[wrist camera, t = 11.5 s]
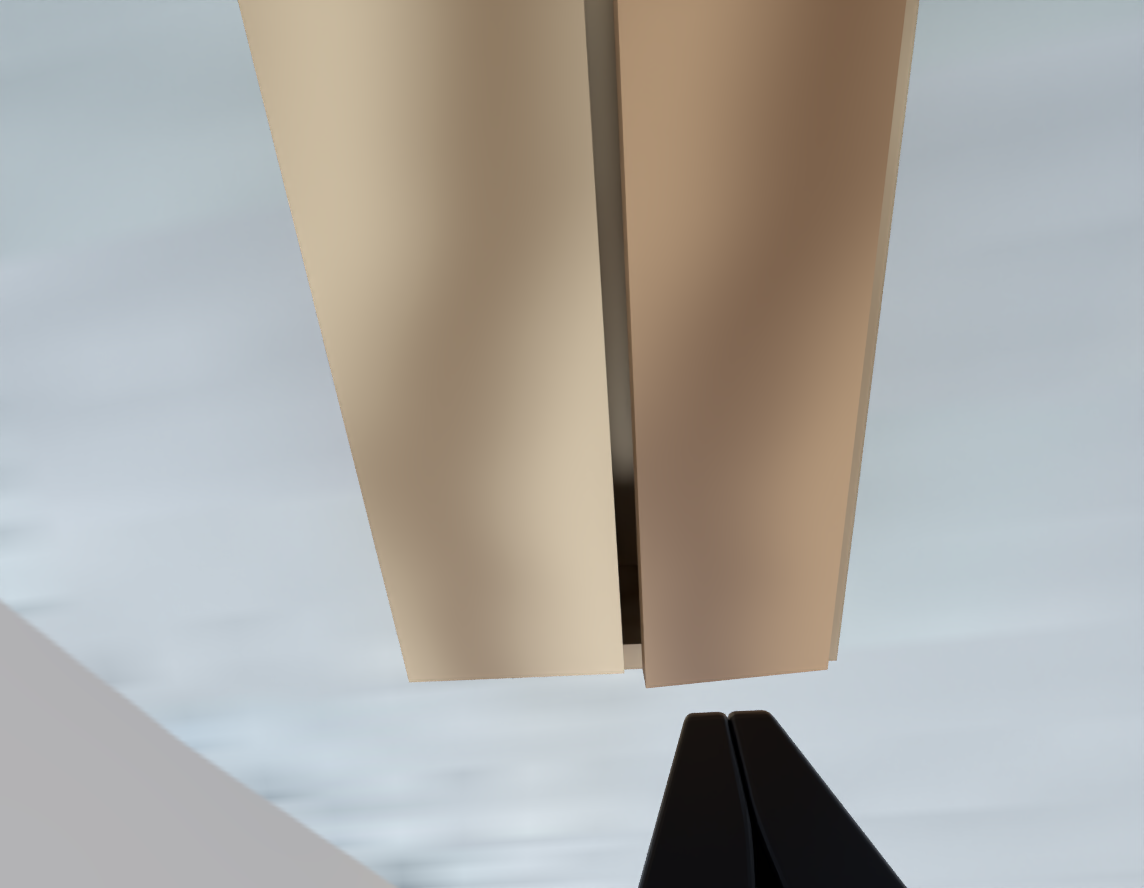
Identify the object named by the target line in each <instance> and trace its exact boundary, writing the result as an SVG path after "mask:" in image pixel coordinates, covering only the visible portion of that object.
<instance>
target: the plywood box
mask: <svg viewBox="0 0 1144 888" xmlns="http://www.w3.org/2000/svg"><path fill="white" fill-rule="evenodd" d="M238 3H239V7H240V11H241V15H242V19H243V23H244V27H245V31H246V35H247V39H248V43H249V47H250V51H251V55H252V59H253V63H254V67H255V71H256V75H257V79H258V83H259V87H260V91H261V95H262V99H263V103H264V107H265V110H266V114H267V118H268V122H269V126H270V130H271V134H272V138H273V142H274V146H275V150H276V154H277V158H278V162H279V166H280V170H281V174H282V178H283V182H284V186H285V190H286V194H287V198H288V202H289V206H290V210H291V214H292V218H293V222H294V226H295V230H296V234H297V238H298V242H299V246H300V250H301V254H302V258H303V262H304V266H305V270H306V274H307V277H308V281H309V285H310V289H311V293H312V297H313V301H314V305H315V309H316V313H317V317H318V321H319V325H320V329H321V333H322V337H323V341H324V345H325V349H326V353H327V357H328V361H329V365H330V369H331V373H332V377H333V381H334V385H335V389H336V393H337V397H338V401H339V405H340V409H341V413H342V417H343V421H344V425H345V429H346V433H347V437H348V441H349V444H350V448H351V452H352V456H353V460H354V464H355V468H356V472H357V476H358V480H359V484H360V488H361V492H362V496H363V500H364V504H365V508H366V512H367V516H368V520H369V524H370V528H371V532H372V536H373V540H374V544H375V548H376V552H377V556H378V560H379V564H380V568H381V572H382V576H383V580H384V584H385V588H386V592H387V596H388V600H389V604H390V608H391V611H392V615H393V619H394V623H395V627H396V631H397V635H398V639H399V643H400V647H401V651H402V655H403V659H404V663H405V667H406V671H407V675H408V679H409V682H427V681H451V680H475V679H499V678H523V677H547V676H571V675H595V674H619V673H624V669H642V647H641V625H640V602H639V579H638V557H637V534H636V511H635V489H634V466H633V443H632V421H631V398H630V375H629V353H628V330H627V307H626V285H625V262H624V239H623V217H622V194H621V171H620V149H619V126H618V103H617V81H616V58H615V35H614V13H613V0H238ZM918 6H919V0H906V9H905V17H904V26H903V34H902V43H901V51H900V59H899V68H898V76H897V85H896V93H895V102H894V110H893V119H892V127H891V136H890V144H889V153H888V161H887V169H886V178H885V186H884V195H883V203H882V212H881V220H880V229H879V237H878V246H877V254H876V263H875V271H874V280H873V288H872V296H871V305H870V313H869V322H868V330H867V339H866V347H865V356H864V364H863V373H862V381H861V390H860V398H859V406H858V415H857V423H856V432H855V440H854V449H853V457H852V466H851V474H850V483H849V491H848V500H847V508H846V516H845V525H844V533H843V542H842V550H841V559H840V567H839V576H838V584H837V593H836V601H835V610H834V618H833V626H832V635H831V643H830V652H829V660H828V661H835V660H837V653H838V645H839V637H840V629H841V621H842V613H843V605H844V597H845V589H846V581H847V573H848V565H849V557H850V549H851V541H852V533H853V525H854V517H855V509H856V501H857V493H858V485H859V477H860V469H861V461H862V453H863V445H864V437H865V429H866V422H867V414H868V406H869V398H870V390H871V382H872V374H873V366H874V358H875V350H876V342H877V334H878V326H879V318H880V310H881V302H882V294H883V286H884V278H885V270H886V262H887V254H888V246H889V238H890V230H891V222H892V214H893V206H894V198H895V190H896V182H897V174H898V166H899V158H900V150H901V142H902V134H903V126H904V118H905V110H906V102H907V94H908V86H909V78H910V70H911V62H912V54H913V46H914V38H915V30H916V22H917V14H918Z"/></svg>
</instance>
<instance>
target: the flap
mask: <svg viewBox="0 0 1144 888" xmlns="http://www.w3.org/2000/svg"><path fill="white" fill-rule="evenodd" d="M905 9H906V0H613V13H614V35H615V58H616V81H617V103H618V126H619V149H620V171H621V194H622V217H623V239H624V262H625V285H626V307H627V330H628V353H629V375H630V398H631V421H632V443H633V466H634V489H635V511H636V534H637V557H638V579H639V602H640V625H641V647H642V669H643V674H644V679H645V685H646V688H653V687H663V686H673V685H682V684H692V683H702V682H711V681H721V680H730V679H740V678H750V677H759V676H769V675H779V674H788V673H798V672H808V671H817V670H827V669H828V660H829V652H830V643H831V635H832V626H833V618H834V610H835V601H836V593H837V584H838V576H839V567H840V559H841V550H842V542H843V533H844V525H845V516H846V508H847V500H848V491H849V483H850V474H851V466H852V457H853V449H854V440H855V432H856V423H857V415H858V406H859V398H860V390H861V381H862V373H863V364H864V356H865V347H866V339H867V330H868V322H869V313H870V305H871V296H872V288H873V280H874V271H875V263H876V254H877V246H878V237H879V229H880V220H881V212H882V203H883V195H884V186H885V178H886V169H887V161H888V153H889V144H890V136H891V127H892V119H893V110H894V102H895V93H896V85H897V76H898V68H899V59H900V51H901V43H902V34H903V26H904V17H905Z"/></svg>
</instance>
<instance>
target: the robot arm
mask: <svg viewBox="0 0 1144 888" xmlns="http://www.w3.org/2000/svg"><path fill="white" fill-rule="evenodd" d="M638 888H907V887H906V886H905V885H904V884H903V882H902V881H901V880H900V878H899V877H898V876H897V875H896V873H895V872H894V871H893V869H892V868H891V867H890V866H889V864H888V863H887V862H886V860H885V859H884V858H883V857H882V855H881V854H880V853H879V851H878V850H877V849H876V848H875V846H874V845H873V844H872V842H871V841H870V840H869V839H868V837H867V836H866V835H865V833H864V832H863V831H862V830H861V828H860V827H859V826H858V824H857V823H856V822H855V821H854V819H853V818H852V817H851V815H850V814H849V813H848V812H847V810H846V809H845V808H844V806H843V805H842V804H841V803H840V801H839V800H838V799H837V797H836V796H835V795H834V794H833V792H832V791H831V790H830V788H829V787H828V786H827V785H826V783H825V782H824V781H823V779H822V778H821V777H820V776H819V774H818V773H817V772H816V770H815V769H814V768H813V767H812V765H811V764H810V763H809V761H808V760H807V759H806V758H805V756H804V755H803V754H802V752H801V751H800V750H799V749H798V747H797V746H796V745H795V743H794V742H793V741H792V740H791V738H790V737H789V736H788V734H787V733H786V732H785V731H784V729H783V728H782V727H781V725H780V724H779V723H778V722H777V720H776V719H775V718H774V717H773V716H772V715H771V714H770V713H769V712H767V711H763V710H755V711H734V712H732V713H730V714H729V716H728V718H727V716H726V715H725V714H724V713H721V712H707V713H691V714H689V715H687V716H686V718H685V720H684V723H683V727H682V730H681V734H680V738H679V741H678V745H677V749H676V752H675V756H674V759H673V763H672V767H671V770H670V774H669V778H668V781H667V785H666V788H665V792H664V796H663V799H662V803H661V807H660V810H659V814H658V817H657V821H656V825H655V828H654V832H653V836H652V839H651V843H650V846H649V850H648V854H647V857H646V861H645V865H644V868H643V872H642V875H641V879H640V883H639V886H638Z"/></svg>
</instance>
